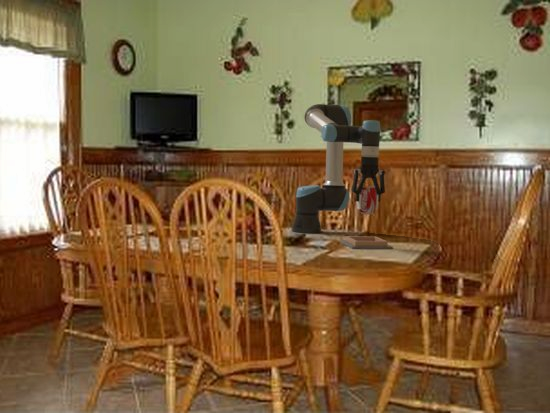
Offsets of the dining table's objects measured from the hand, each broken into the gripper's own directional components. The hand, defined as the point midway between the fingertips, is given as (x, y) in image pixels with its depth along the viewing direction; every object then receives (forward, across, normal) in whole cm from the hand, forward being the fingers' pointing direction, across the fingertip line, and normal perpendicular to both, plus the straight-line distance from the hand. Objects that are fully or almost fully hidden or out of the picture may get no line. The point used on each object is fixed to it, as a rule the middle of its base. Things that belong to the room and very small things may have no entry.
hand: (367, 209), depth 253 cm
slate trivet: (+16, 0, 0) cm, 16 cm away
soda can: (+2, 0, 0) cm, 2 cm away
